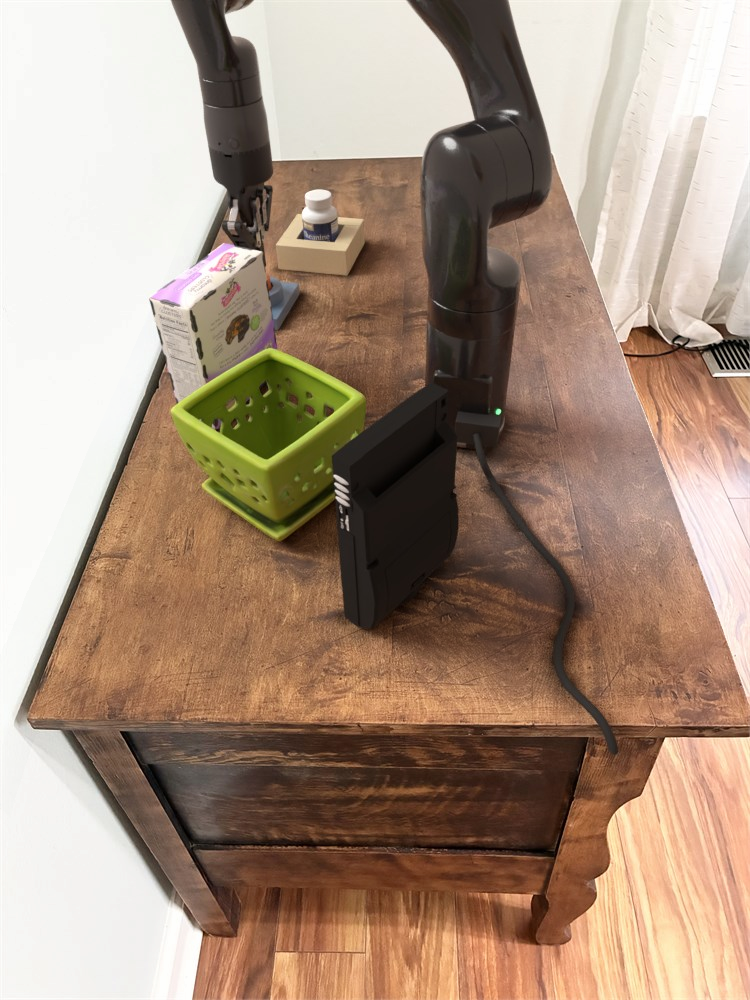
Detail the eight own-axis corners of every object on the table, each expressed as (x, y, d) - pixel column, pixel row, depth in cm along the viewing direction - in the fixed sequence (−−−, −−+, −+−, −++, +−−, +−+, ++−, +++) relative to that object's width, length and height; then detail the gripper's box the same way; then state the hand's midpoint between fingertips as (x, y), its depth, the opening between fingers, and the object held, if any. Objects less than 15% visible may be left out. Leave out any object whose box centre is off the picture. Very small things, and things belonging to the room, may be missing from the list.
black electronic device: (422, 543, 75) (426, 378, 61) (458, 565, 73) (472, 399, 59) (339, 618, 69) (323, 453, 55) (377, 645, 67) (370, 481, 52)
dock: (347, 275, 114) (346, 251, 111) (278, 269, 116) (275, 244, 113) (364, 243, 122) (363, 218, 119) (299, 237, 124) (297, 213, 121)
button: (267, 295, 104) (265, 284, 103) (245, 293, 105) (243, 282, 104) (274, 284, 106) (273, 273, 105) (253, 282, 107) (251, 271, 106)
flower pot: (190, 501, 80) (163, 406, 71) (283, 436, 87) (270, 342, 78) (282, 565, 73) (265, 469, 64) (375, 489, 81) (371, 393, 72)
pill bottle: (300, 261, 118) (294, 200, 111) (312, 246, 121) (307, 185, 114) (333, 266, 116) (329, 203, 110) (344, 250, 120) (340, 189, 113)
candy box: (245, 359, 99) (223, 239, 87) (282, 370, 97) (265, 250, 85) (178, 418, 90) (145, 294, 79) (217, 432, 88) (189, 307, 77)
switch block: (278, 330, 104) (275, 307, 101) (223, 324, 105) (219, 301, 103) (299, 293, 111) (297, 271, 108) (248, 288, 112) (245, 266, 110)
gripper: (229, 117, 97) (248, 245, 109) (187, 156, 88) (213, 290, 100) (284, 121, 95) (297, 249, 108) (248, 160, 86) (267, 296, 99)
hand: (257, 269), depth 104 cm, fingers closed
